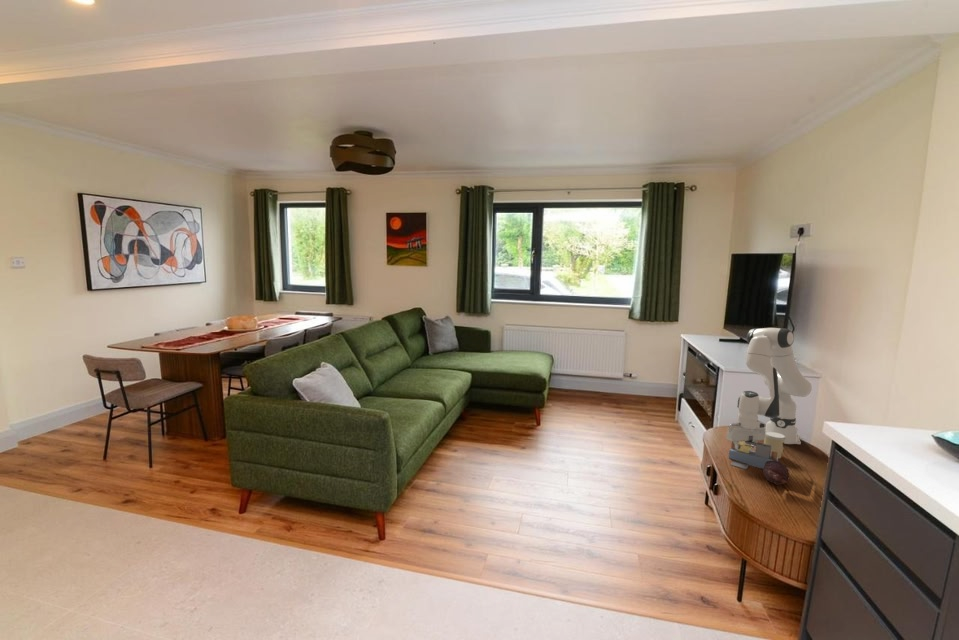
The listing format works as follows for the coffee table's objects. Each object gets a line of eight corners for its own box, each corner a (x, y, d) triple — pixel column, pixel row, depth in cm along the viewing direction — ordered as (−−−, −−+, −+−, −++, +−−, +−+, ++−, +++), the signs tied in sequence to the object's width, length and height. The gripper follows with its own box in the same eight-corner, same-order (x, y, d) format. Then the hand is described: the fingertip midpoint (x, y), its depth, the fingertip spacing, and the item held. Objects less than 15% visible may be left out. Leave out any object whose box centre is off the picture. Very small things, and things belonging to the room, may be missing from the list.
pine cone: (757, 471, 207) (759, 452, 206) (781, 475, 203) (783, 455, 202) (767, 488, 190) (769, 467, 189) (793, 493, 187) (796, 471, 186)
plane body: (732, 454, 226) (734, 435, 225) (777, 466, 212) (779, 446, 211) (728, 459, 220) (730, 439, 219) (774, 472, 207) (776, 451, 205)
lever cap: (739, 448, 222) (740, 441, 221) (750, 451, 218) (751, 443, 218) (737, 451, 218) (738, 443, 218) (748, 454, 215) (749, 446, 214)
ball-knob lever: (745, 442, 219) (746, 434, 218) (763, 446, 213) (764, 438, 213) (744, 443, 217) (745, 435, 217) (763, 448, 212) (764, 439, 211)
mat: (733, 461, 217) (733, 460, 217) (749, 466, 213) (749, 465, 213) (730, 465, 213) (730, 464, 213) (746, 469, 208) (746, 469, 208)
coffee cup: (786, 460, 220) (789, 438, 218) (766, 458, 222) (769, 437, 220) (777, 453, 229) (780, 432, 228) (758, 451, 231) (761, 430, 229)
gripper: (734, 425, 212) (731, 451, 213) (769, 424, 215) (766, 450, 217) (724, 421, 218) (722, 446, 220) (758, 420, 221) (756, 445, 223)
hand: (744, 448), depth 218 cm, fingers open, 7 cm apart
